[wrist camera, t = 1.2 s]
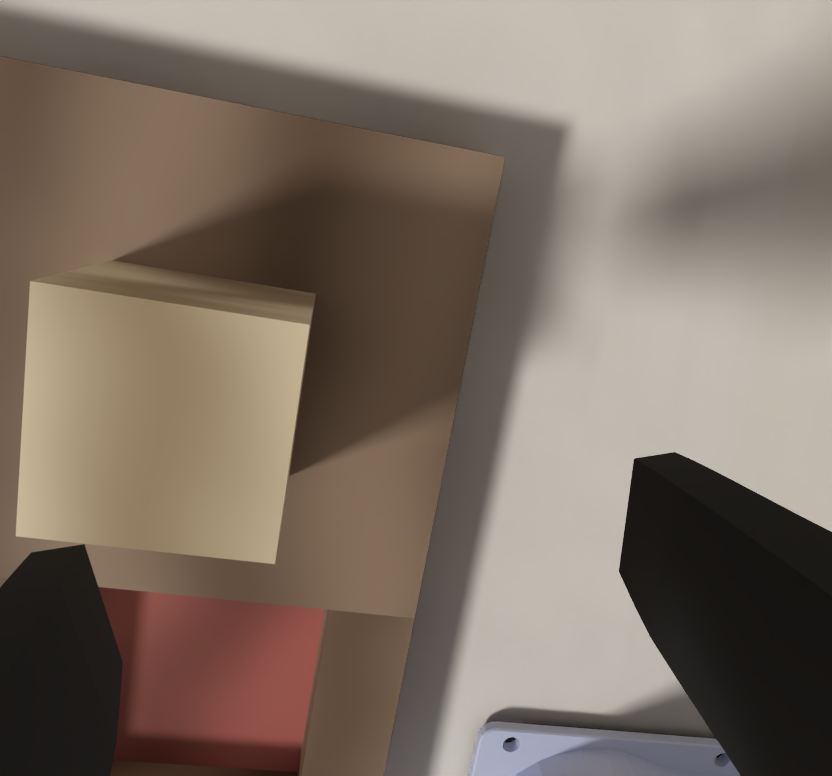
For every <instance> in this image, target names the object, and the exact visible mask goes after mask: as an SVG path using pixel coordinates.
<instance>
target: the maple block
mask: <svg viewBox="0 0 832 776" xmlns="http://www.w3.org/2000/svg"><path fill="white" fill-rule="evenodd" d="M315 296H316V294H315V293H309V292H303V291H296V290H290V289H284V288H278V287H272V286H266V285H260V284H254V283H248V282H241V281H235V280H229V279H223V278H217V277H211V276H205V275H199V274H193V273H186V272H180V271H174V270H168V269H162V268H156V267H150V266H144V265H138V264H131V263H125V262H119V261H113V260H112V261H108V262H104V263H100V264H96V265H92V266H88V267H84V268H80V269H76V270H72V271H68V272H64V273H60V274H56V275H52V276H48V277H44V278H40V279H36V280H32V281H30V291H29V309H28V327H27V344H26V362H25V379H24V397H23V415H22V432H21V450H20V467H19V485H18V503H17V520H16V536H17V537H27V538H36V539H45V540H55V541H64V542H73V543H82V544H92V545H101V546H110V547H120V548H129V549H138V550H148V551H157V552H166V553H176V554H185V555H194V556H204V557H213V558H222V559H231V560H241V561H250V562H259V563H269V564H275V560H276V554H277V548H278V542H279V536H280V530H281V523H282V517H283V511H284V505H285V499H286V493H287V487H288V481H289V474H290V467H291V460H292V454H293V447H294V440H295V433H296V426H297V419H298V413H299V406H300V399H301V392H302V385H303V378H304V371H305V365H306V358H307V351H308V344H309V337H310V330H311V323H312V317H313V310H314V303H315Z"/></svg>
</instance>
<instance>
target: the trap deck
mask: <svg viewBox="0 0 832 776" xmlns="http://www.w3.org/2000/svg"><path fill="white" fill-rule="evenodd" d="M504 161H505V157H503V156H498V155H493V154H488V153H483V152H478V151H473V150H468V149H463V148H458V147H453V146H448V145H443V144H438V143H433V142H428V141H423V140H418V139H413V138H408V137H403V136H398V135H393V134H387V133H382V132H377V131H372V130H367V129H362V128H357V127H352V126H347V125H342V124H337V123H332V122H327V121H322V120H317V119H312V118H307V117H302V116H297V115H292V114H287V113H282V112H277V111H272V110H267V109H262V108H257V107H252V106H247V105H242V104H237V103H232V102H227V101H222V100H217V99H212V98H207V97H202V96H197V95H192V94H187V93H182V92H177V91H172V90H167V89H162V88H157V87H152V86H147V85H142V84H137V83H132V82H127V81H122V80H117V79H112V78H107V77H102V76H97V75H92V74H87V73H82V72H77V71H71V70H66V69H61V68H56V67H51V66H46V65H41V64H36V63H31V62H26V61H21V60H16V59H11V58H6V57H1V56H0V587H1V586H2V585H3V584H4V582H5V581H6V580H7V579H8V578H9V577H10V576H11V574H12V573H13V572H14V571H15V570H16V569H17V568H18V566H19V565H20V564H21V563H22V562H23V561H24V560H25V559H26V558H27V557H28V555H29V554H30V553H31V552H37V551H44V550H50V549H56V548H63V547H69V546H76V545H82V543H73V542H64V541H55V540H45V539H36V538H27V537H17V536H16V520H17V503H18V485H19V467H20V450H21V432H22V415H23V397H24V379H25V362H26V344H27V327H28V309H29V291H30V281H32V280H36V279H40V278H44V277H48V276H52V275H56V274H60V273H64V272H68V271H72V270H76V269H80V268H84V267H88V266H92V265H96V264H100V263H104V262H108V261H112V260H113V261H119V262H125V263H131V264H138V265H144V266H150V267H156V268H162V269H168V270H174V271H180V272H186V273H193V274H199V275H205V276H211V277H217V278H223V279H229V280H235V281H241V282H248V283H254V284H260V285H266V286H272V287H278V288H284V289H290V290H296V291H303V292H309V293H315V294H316V296H315V303H314V310H313V317H312V323H311V330H310V337H309V344H308V351H307V358H306V365H305V371H304V378H303V385H302V392H301V399H300V406H299V413H298V419H297V426H296V433H295V440H294V447H293V454H292V460H291V467H290V474H289V481H288V487H287V493H286V499H285V505H284V511H283V517H282V523H281V530H280V536H279V542H278V548H277V554H276V560H275V564H269V563H259V562H250V561H241V560H231V559H222V558H213V557H204V556H194V555H185V554H176V553H166V552H157V551H148V550H138V549H129V548H120V547H110V546H101V545H92V544H85V547H86V550H87V553H88V556H89V560H90V563H91V566H92V569H93V572H94V575H95V578H96V581H97V584H98V587H99V590H100V594H101V597H102V600H103V603H104V606H105V609H106V612H107V615H108V618H109V621H110V625H111V628H112V631H113V634H114V637H115V640H116V643H117V646H118V649H119V652H120V655H121V659H122V662H123V665H122V680H121V694H120V708H119V718H118V729H117V740H116V747H115V752H114V757H113V763H112V768H111V773H110V776H384V772H385V767H386V762H387V756H388V751H389V746H390V741H391V736H392V731H393V726H394V721H395V716H396V711H397V706H398V700H399V695H400V690H401V685H402V680H403V675H404V670H405V665H406V660H407V655H408V650H409V645H410V639H411V634H412V629H413V624H414V619H415V614H416V609H417V604H418V599H419V594H420V589H421V583H422V578H423V573H424V568H425V563H426V558H427V553H428V548H429V543H430V538H431V533H432V528H433V522H434V517H435V512H436V507H437V502H438V497H439V492H440V487H441V482H442V477H443V472H444V466H445V461H446V456H447V451H448V446H449V441H450V436H451V431H452V426H453V421H454V416H455V411H456V405H457V400H458V395H459V390H460V385H461V380H462V375H463V370H464V365H465V360H466V355H467V349H468V344H469V339H470V334H471V329H472V324H473V319H474V314H475V309H476V304H477V299H478V293H479V288H480V283H481V278H482V273H483V268H484V263H485V258H486V253H487V248H488V243H489V238H490V232H491V227H492V222H493V217H494V212H495V207H496V202H497V197H498V192H499V187H500V182H501V176H502V171H503V166H504Z"/></svg>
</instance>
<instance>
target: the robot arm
mask: <svg viewBox="0 0 832 776" xmlns="http://www.w3.org/2000/svg"><path fill="white" fill-rule="evenodd" d="M619 572H620V575H621V577H622V579H623V581H624V583H625V586H626V588H627V590H628V592H629V594H630V596H631V599H632V601H633V603H634V605H635V607H636V609H637V611H638V613H639V615H640V617H641V619H642V621H643V623H644V625H645V627H646V629H647V631H648V633H649V635H650V637H651V638H652V640H653V642H654V643H655V645H656V646H657V648H658V650H659V651H660V653H661V654H662V656H663V658H664V659H665V661H666V662H667V664H668V665H669V667H670V668H671V670H672V672H673V673H674V675H675V676H676V678H677V679H678V681H679V682H680V684H681V686H682V687H683V689H684V690H685V692H686V693H687V695H688V696H689V698H690V699H691V701H692V702H693V704H694V705H695V707H696V708H697V710H698V712H699V713H700V715H701V716H702V718H703V719H704V721H705V722H706V724H707V725H708V727H709V728H710V730H711V731H712V733H713V734H714V736H715V737H716V739H713V738H700V737H687V736H675V735H662V734H649V733H637V732H624V731H611V730H599V729H586V728H574V727H561V726H548V725H536V724H523V723H510V722H498V721H495V722H489V723H487V724H484V725H483V726H482V727H481V728H480V729H479V731H478V734H477V737H476V742H475V746H474V751H473V755H472V759H471V764H470V768H469V773H468V776H832V532H831V531H829V530H827V529H825V528H823V527H821V526H819V525H817V524H815V523H813V522H811V521H809V520H807V519H805V518H803V517H801V516H799V515H797V514H795V513H793V512H792V511H790V510H788V509H786V508H784V507H782V506H780V505H778V504H776V503H774V502H772V501H771V500H769V499H767V498H765V497H763V496H761V495H759V494H757V493H755V492H753V491H752V490H750V489H748V488H746V487H744V486H742V485H740V484H738V483H736V482H735V481H733V480H731V479H729V478H727V477H725V476H723V475H721V474H719V473H717V472H715V471H713V470H711V469H709V468H707V467H705V466H703V465H701V464H699V463H697V462H695V461H693V460H691V459H689V458H686V457H684V456H682V455H680V454H677V453H675V452H674V453H668V454H661V455H655V456H648V457H642V458H635V459H634V464H633V471H632V479H631V486H630V494H629V501H628V508H627V516H626V523H625V531H624V538H623V546H622V553H621V560H620V568H619ZM122 665H123V662H122V659H121V655H120V652H119V649H118V646H117V643H116V640H115V637H114V634H113V631H112V628H111V625H110V621H109V618H108V615H107V612H106V609H105V606H104V603H103V600H102V597H101V594H100V590H99V587H98V584H97V581H96V578H95V575H94V572H93V569H92V566H91V563H90V560H89V556H88V553H87V550H86V547H85V544H82V545H76V546H69V547H63V548H56V549H50V550H44V551H37V552H31V553H30V554H29V555H28V557H27V558H26V559H25V560H24V561H23V562H22V563H21V564H20V565H19V566H18V568H17V569H16V570H15V571H14V572H13V573H12V574H11V576H10V577H9V578H8V579H7V580H6V581H5V582H4V584H3V585H2V586H1V587H0V776H110V773H111V768H112V763H113V757H114V752H115V747H116V740H117V729H118V718H119V708H120V694H121V680H122ZM510 737H514V738H515V740H513V741H512V742H508V743H506V742H504V741H505V740H506V739H507V738H510ZM719 754H722V755H721V756H719V757H718V758H716V757H717V756H718V755H719Z"/></svg>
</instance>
